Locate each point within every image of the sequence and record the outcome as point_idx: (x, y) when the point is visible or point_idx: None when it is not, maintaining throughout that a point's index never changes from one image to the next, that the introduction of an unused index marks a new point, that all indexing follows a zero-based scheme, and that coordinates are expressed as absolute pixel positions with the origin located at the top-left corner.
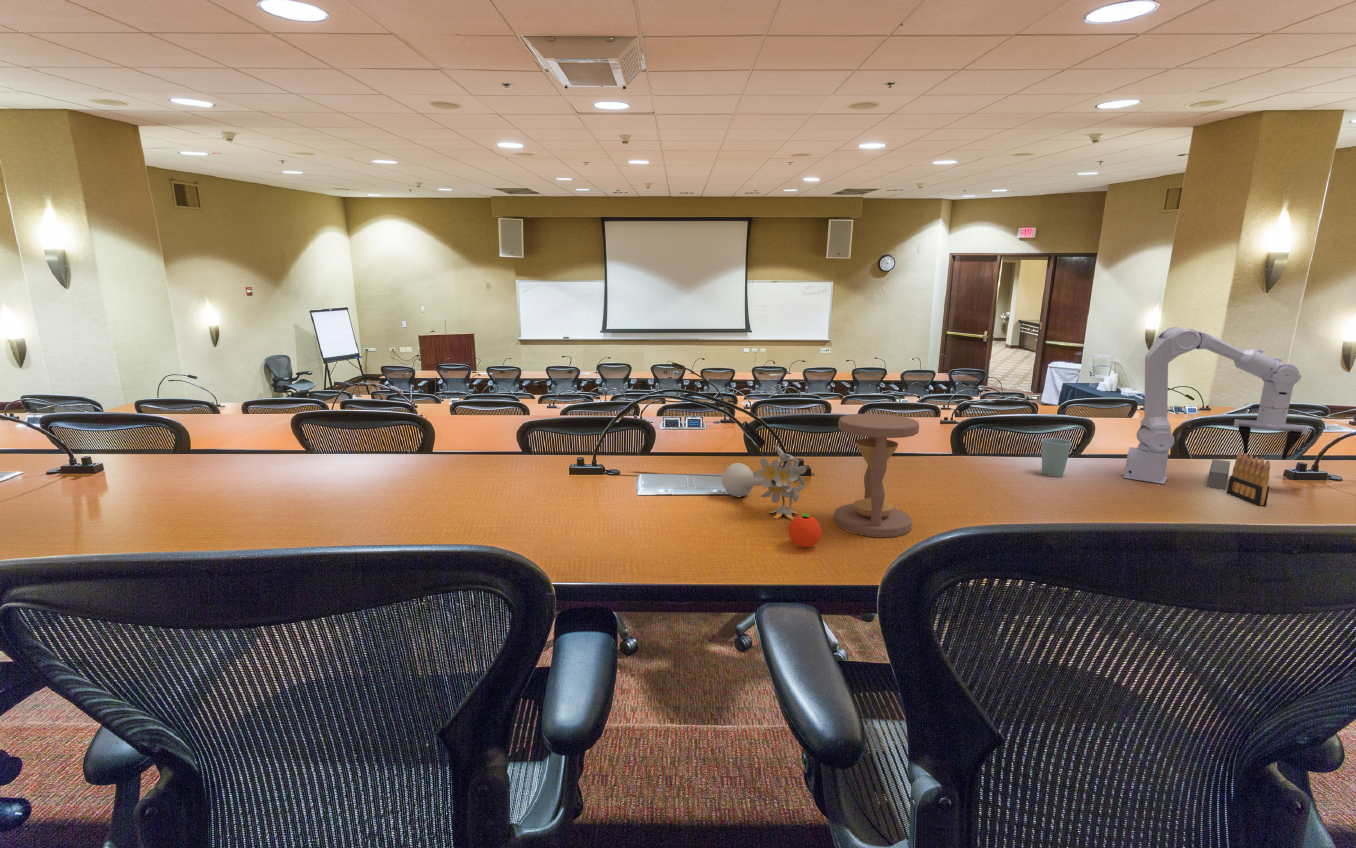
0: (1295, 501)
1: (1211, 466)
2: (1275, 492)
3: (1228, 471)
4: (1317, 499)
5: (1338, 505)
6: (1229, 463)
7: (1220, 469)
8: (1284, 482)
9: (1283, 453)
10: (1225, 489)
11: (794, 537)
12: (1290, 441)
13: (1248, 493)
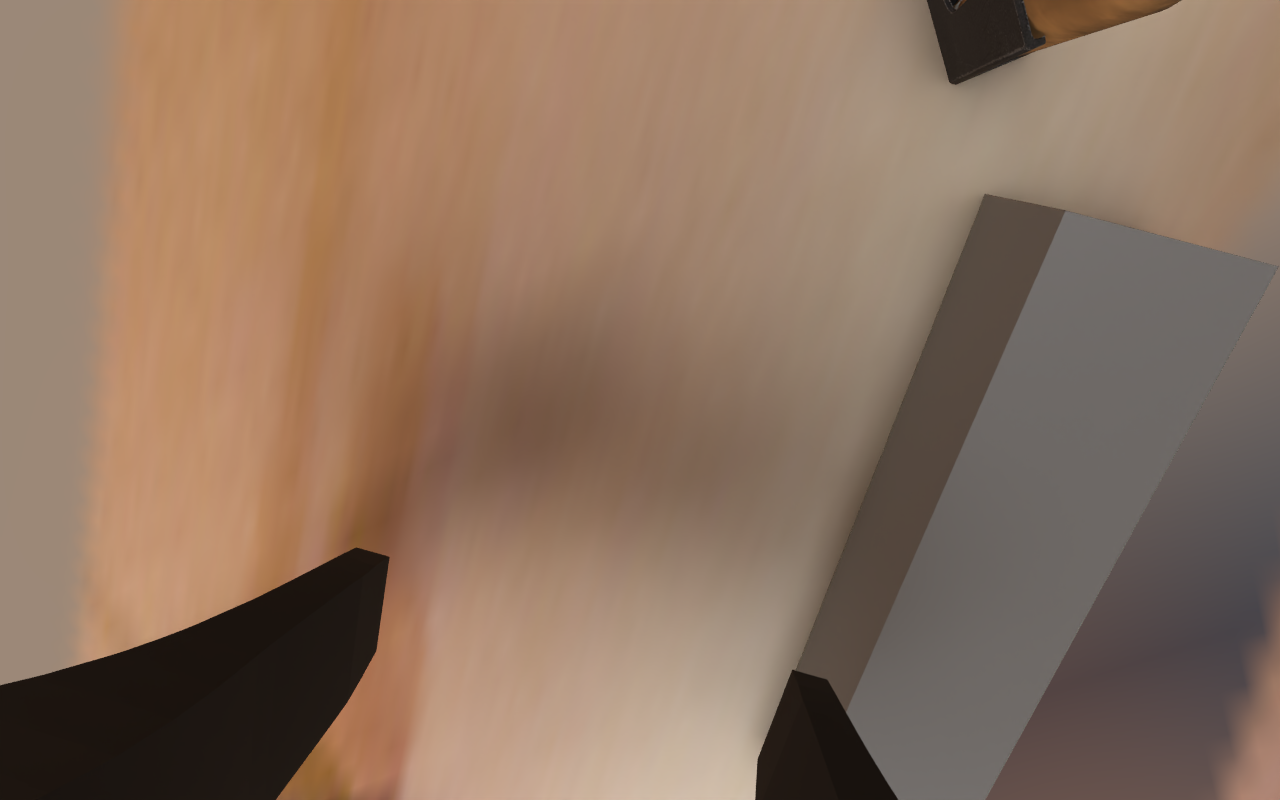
0: (456, 39)
1: (1101, 571)
2: (540, 339)
3: (1001, 369)
4: (274, 238)
5: (156, 84)
6: None
7: (1059, 445)
8: (401, 715)
9: (345, 588)
10: (990, 195)
11: None
12: (101, 706)
13: None
